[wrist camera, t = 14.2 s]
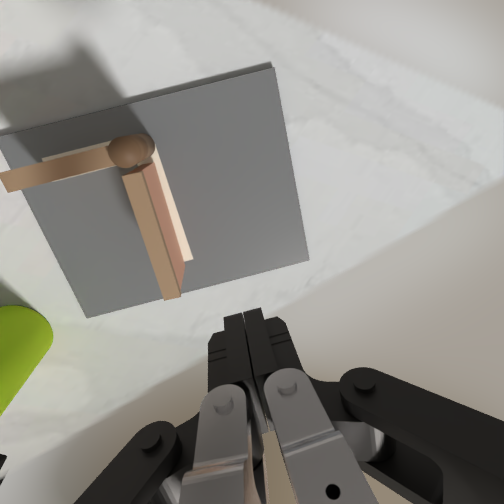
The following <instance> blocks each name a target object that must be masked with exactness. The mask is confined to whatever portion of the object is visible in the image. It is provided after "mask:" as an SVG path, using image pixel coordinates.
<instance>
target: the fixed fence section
mask: <svg viewBox="0 0 504 504" xmlns="http://www.w3.org/2000/svg"><path fill="white" fill-rule="evenodd" d="M154 151H155V142H154V140H153V139H152V138H151V137H150V136H149V135H147V134H144V133H140V134H133V135H127V136H121V137H117V138H115V139H113V140H112V141H111V142H110V144H109V145H108V146H104V147H100V148H96V149H92V150H88V151H84V152H80V153H76V154H72V155H68V156H64V157H60V158H56V159H53V160H49V161H45V162H41V163H37V164H33V165H29V166H25V167H21V168H17V169H13V170H9V171H5V172H1V173H0V179H1V181H2V182H3V184H4V186H5V188H6V190H7V192H8V193H9V192H13V191H17V190H21V189H25V188H29V187H33V186H37V185H40V184H44V183H48V182H52V181H56V180H60V179H64V178H68V177H72V176H76V175H80V174H84V173H88V172H91V171H95V170H99V169H103V168H107V167H111V166H115V165H117V166H119V167H121V168H130V167H132V166H134V165H136V164H138V163H139V162H141V161H143V160H145V159H146V158H148V157H150V156H151V155H152V154H153V153H154Z"/></svg>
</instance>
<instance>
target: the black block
mask: <svg viewBox="0 0 504 504" xmlns="http://www.w3.org/2000/svg"><path fill="white" fill-rule="evenodd" d="M6 458H7V456H6V455H2V454H0V469H1V467H2V466H3V464H4V462H5V460H6ZM5 476H6V475H5ZM5 476H3V477H2V478H0V485H1V484H2V482H3V480H4V478H5Z"/></svg>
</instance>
